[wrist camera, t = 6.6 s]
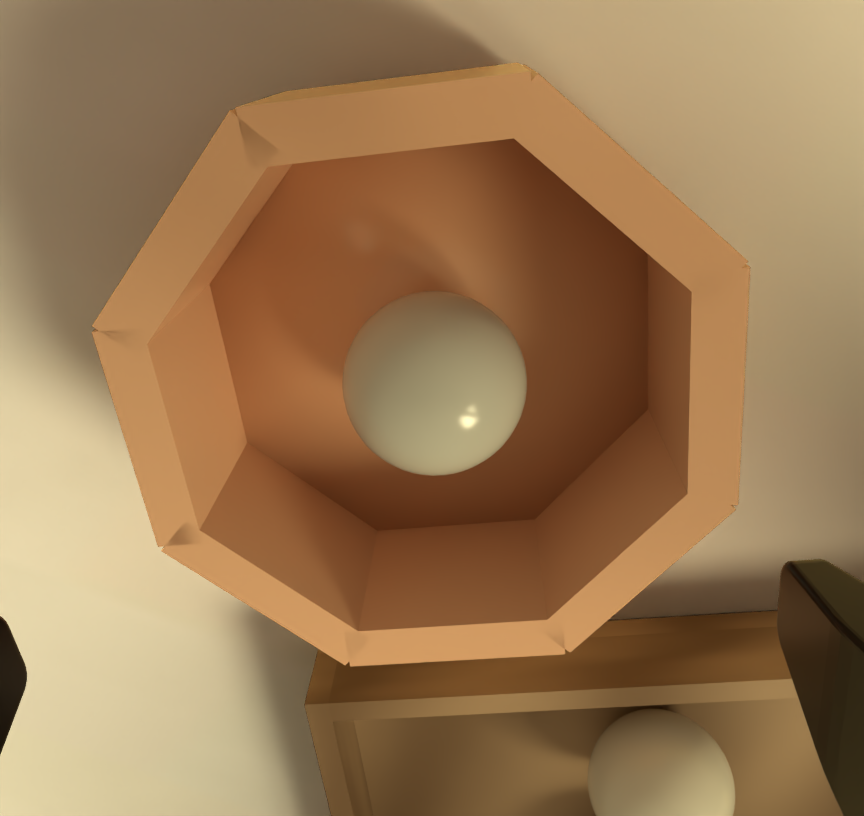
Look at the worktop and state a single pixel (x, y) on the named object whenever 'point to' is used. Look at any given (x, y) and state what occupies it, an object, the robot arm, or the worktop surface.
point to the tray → (561, 721)
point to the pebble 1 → (434, 383)
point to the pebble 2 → (659, 768)
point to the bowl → (399, 276)
